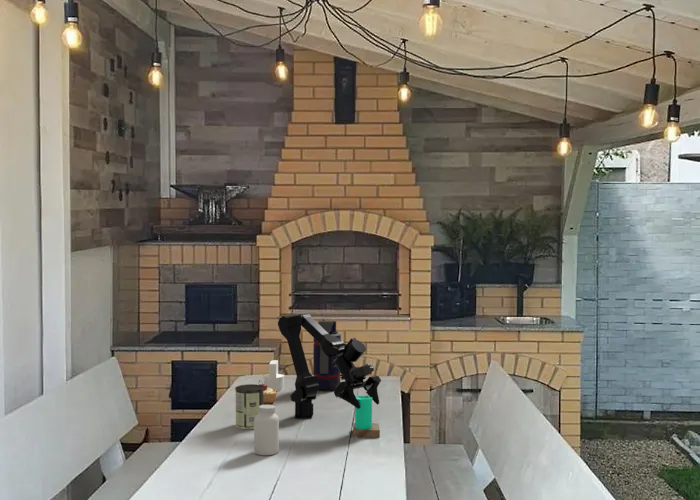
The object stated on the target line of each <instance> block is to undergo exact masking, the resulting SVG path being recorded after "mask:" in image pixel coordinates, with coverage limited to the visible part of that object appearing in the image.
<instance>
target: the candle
mask: <svg viewBox="0 0 700 500" xmlns="http://www.w3.org/2000/svg"><path fill="white" fill-rule="evenodd" d="M355 397H356V398H357V400H358V402H359V404H360V408H359V409H358V408H356V407H355V406H354V423H355V428H358V429H370V428H372V423H373V400H372V397H370V396H369V395H363V396H361V395H357V396H355Z"/></svg>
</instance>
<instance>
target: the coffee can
mask: <svg viewBox="0 0 700 500" xmlns="http://www.w3.org/2000/svg"><path fill="white" fill-rule="evenodd" d="M234 389H235V428H238V429H240V428H241V430H254V418H255V416H256V415H257V414H259V413H258V412H259V406H261V405H264V404H263V397H264V395H263V390H264V387H263V386H261V385H259V384H251V383H249V384H241V385H237V386H235V388H234Z"/></svg>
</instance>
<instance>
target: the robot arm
mask: <svg viewBox="0 0 700 500" xmlns="http://www.w3.org/2000/svg"><path fill="white" fill-rule="evenodd" d="M277 326H278V329H279V332H280V333H281V335H282V336H283V338H284V339H285V340H286V342H287V345H288V349H289V353H290V356H291V360H292V364H293V368H294V371H295V374H296V378H295V382H294V386H295V387H294V388H295V390H294V391H293V392H292V393H291V394H290V400H291V402H293V403H294V419H312V418H313V416H314V403H313V400H314V401H315V400H316V399H317V396H318V392H320V391H319V390H320V389H319V387H318V386H319V384H318V382H317V377H316V376H314V375H313V374H312V373H311V372H310V370H309V366H308V363H307V359H306V355H305V351H304V348H303V344H302V341H301V337H300V336H301V331H302V328H303V329H305V331H306V332H307V333H308V334H309V335H310V336H312V337H313V339H314V338H315V339H316V340H317V341H318V342H319V343H320V346H321V349H322V351H323V352H324V353H325V355H326V356H327V357H335V356H338V357H337V358H336V359H334V360H333V362H332V365H331V367H337V368H338V369H339V371H340V380H341V381H340V383H339V384H338V385H337V387H336V388H335V389H334V391H333V394H334V396H335V398H339V399H342V400H344V401H345V402H347V403H349V404H351V406H353V407H354V408H355V407H356V408H358V409H359V408H360V404H359V402H358V400H357V398H356V397H357V396H356V395H355V393H354V390H357V389H360V388H361V389H362V388H363V390H365V391H366V392H365V393H366V395H367V396H369V397H372V402H374V403H375V404H376V405H379V404H380V399H379V393H378V386H379V385H380V384H381V382H382V379H381V377H380V376H379V375H372V374H373V372H374V370H375V367H374V366H373V365H372V363H371V362H368V363H365V364H364V365H362V366H355V364H354V363H356V362H357V361H358V360H359V359H360V358H362V356H363V355H364V354H365V353H366V351H367V348H366V346H365V343H363V342H362V341H361V340H357V338H356V337H352V338H350V339H349V341H348V342H347V343H345V342H344V340H342V339H341V340H340V339H339V338H337V337H335V336H332V335H330V334H329V333H327V332H326V331H325V330H324V329H323V328H322V327H321V326H320V325H319V324H318V322H317V321H316V320H315V319H314V318H313V317H312V315H311V314H310V313H307V312H306V313H300V314H298V315H297V314H289V315H283V316H280V317H279V318H278V321H277ZM368 375H371V376H369V377H368V378H367V376H368ZM365 379H366V380H365ZM364 380H365V381H364Z"/></svg>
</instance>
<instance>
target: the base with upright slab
mask: <svg viewBox="0 0 700 500" xmlns="http://www.w3.org/2000/svg"><path fill="white" fill-rule="evenodd" d="M268 365H269V367H268V372H269V373H267V374H264V375H263V377H262V379H263V382H262V383H263V384H266V385H267V387H268V388H271V389H273V390H274V389H275V391H278V392H281V391H280V390H282V391H284V390H285V374H281V373H279V360H277V359H274V360H273V359H272V360H270V362H269V364H268ZM283 389H284V390H283Z"/></svg>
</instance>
